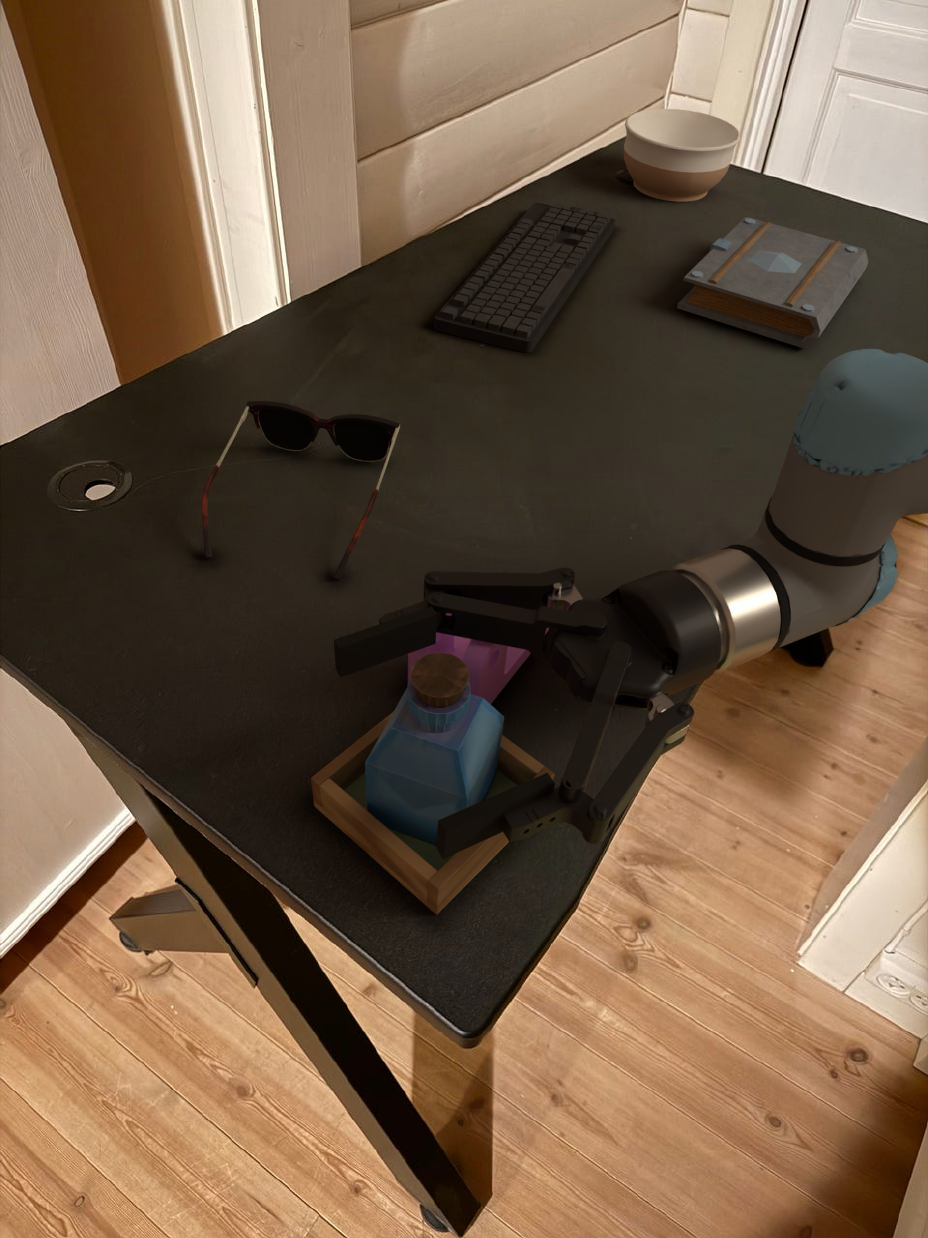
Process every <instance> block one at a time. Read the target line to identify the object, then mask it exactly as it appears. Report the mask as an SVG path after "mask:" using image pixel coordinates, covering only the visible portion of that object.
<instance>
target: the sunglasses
mask: <svg viewBox="0 0 928 1238" xmlns="http://www.w3.org/2000/svg"><path fill="white" fill-rule="evenodd" d="M245 405H246V406H245V408H244V410H243V412H242V414H241V416H240V417H239V418H240V419H239V421H238V423H237V425H236V427H235V428H234V431H233V432H232V435H231V436H230V437H229V438H230V439H229V440H228V442H227V444H226V446H225V447H224V450H223V451H222V454H221V455H220V457H219V458H218V460H217V463H216V464H215V466H214V467H213V469H212V471H211V473H210V475H209V477H208V479H207V481H206V483H205V485H204V488H203V492H202V497H201V522H202V523H201V524H202V537H203V539H202V540H203V553H204V558H205V559H210V558H212V557H213V554H212V548H211V542H210V534H209V533H210V531H209V517H208V500H209V496H210V495H209V494H210V490H211V489H212V485H213V483H214V482H215V480H216V478H217V475H218V474H219V471H220V466H221V465H222V463H223V461H224V458H225V456H226V454H227V453H228V451H229V449H230V447H231V445H232V443H233V441H234V439H235V437H236V436H237V433H238V431H239V429H240V427H241V426H242V424H243V423H245V420H246V418H247V417H248V415H249V413H250V414H251V415H252V417H253V421H254V424H255V427H256V429H258V430H261V432H262V435H263V436H264V438H265V440H266V441H267V442H268V443H269V444H270V445H272V446H273V447H277V448H279V449H282V450H285V451H291V452H303V451H305V450H307V449H308V448H309V447H310V445H311V444H312V443H314V442H315V440H316V438H317V436H318V434H319V431H320V429H324V430H326V432H327V433H328V435H329V437H330V439H331V441H332V442H333V444H334V446H336V447H339V449H340V451H342V453H343V454H344V455H346V457H348V458H350V459H352V460H354V461H359V462H365V463H373V462H381V461H383V460H384V459H385V462H384V464H383V467H382V470H381V471H380V472H381V473H380V476H379V478H378V481H377V483H376V487H375V489H373V490H372V493H371V495H370V499H369V502H368V505H367V507H366V510H365V511H364V514H363V515H362V517H361V520H360V521H359V524H358V525H357V527H356V530H355V532H354V534H353V537H352V538H351V540H350V542H349V544H348V546H347V548H346V550H345V552H344V554H343V556H342V558H341V560H340V562H339V564H338V566H337V568H336V571H335V572H334V574H333V577H334V578H335V579H337V580H341V578H342V576H343V573H344V571H345V568H346V565H347V563H348V561H349V558H350V556H351V555H352V553H353V551H354V548H355V547H356V544H357V542H358V541H359V538H360V536H361V534H362V532H363V530H364V527H365V525H366V523H367V522H368V520H369V518H370V515H371V513H372V511H373V509H374V506H375V504H376V500H377V497H378V494H379V490H380V487H381V484H382V481H383V479H384V474H385V472H386V469H387V466H388V463H389V461H390V458H391V455H392V452H393V449H394V447H395V443H396V441H397V437H398V434H399V433H400V430H401V429H400V428H401V423H400V422H398V421H394V420H390V419H387V418H384V417H380V416H375V415H369V414H361V413H348V414H347V413H346V414H338V415H334V416H332V417H330V418H321V417H319V416H317V415H316V414H315V413H314V412H312V411H309V410H307V409H304V408H302V407H299V406H297V405H293V404H290V403H284V402H280V401H268V400H250V401H249V400H248V401H247V403H245Z"/></svg>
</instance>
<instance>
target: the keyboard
mask: <svg viewBox="0 0 928 1238" xmlns="http://www.w3.org/2000/svg"><path fill="white" fill-rule="evenodd" d="M615 223H616V220H615V219H614V218H612V217H611V214H609V213H604V212H600V211H595V210H588V209H585V208H581V207H576V206H571V205H564V204H562V203H558V202H557V203H556V202H554V203H553V204H552V205H549V204H547V203H540V202H534V203H533V204H532V205H530V207H529V208H528V209H527V210H526V211H525V213H524V214H523V215H522V216H521V217H520V218H519V220H517V222H516V223H515V224H514V225H513V226H512V227H511V228H510V230H509V231H508V232H507V233H506V234H505V235H504V237H503V238H502V239H501V240H500V241H499V242H498V243H497V244H496V246H495V247H494V248H493V249H492V250H491V251H490V252H489V253H488V255H487V256H486V257H485V258H484V259H483V260H482V261H481V262H480V264H479V265H478V266H477V267H476V268H475V270H474V271H473V272H472V273H471V274H470V276H468V277H467V279H465V281H464V282H463V283H462V284H461V285H460V287H458V289H457V290H456V292H454V294H453V295H452V296H451V297H450V298H449V299H448V301H447V302H446V303H445V304H444V305H443V306H442V307H441V308H440V309H439V310H438V312H437V313H436V314H435V315H434V331H437V332H441V333H444V334H448V335H452V336H457V337H461V338H464V339H469V340H472V341H476V342H481V343H485V344H488V345H493V346H495V347H500V348H505V349H509V350H513V351H515V352H516V351H517V352H520V353H525V354H530V353H532V352H533V351H534V349H535V348H536V346H537V345H538V343H539V342H540V340H541V339H542V338H543V335H544V334H545V333H546V331H547V330H548V328H549V327H550V325H552V323H553V321H554V319H555V318H556V317H557V316H558V314H559V312H560V311H561V309H562V308H563V306H564V305H565V303H566V302H567V300H569V298H570V296H571V294H572V293H573V292H574V290H575V289H576V287H577V286H578V284H579V282H580V281H581V280H582V278H583V276H584V275H585V273H586V272H587V271H588V269H589V268H590V266H591V265H592V263H593V262H594V261H595V259H596V258H597V256H598V254H599V253H600V252H601V250H602V249H603V247H604V246H605V245H606V242H607V241H608V239H609V238H610V237H611V236H612V233H613V232H614V228H615Z"/></svg>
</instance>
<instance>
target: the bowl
mask: <svg viewBox="0 0 928 1238" xmlns="http://www.w3.org/2000/svg"><path fill="white" fill-rule="evenodd" d="M624 126H625V132H626V133H625V134H626V135H625V140H624V143H623V160H624V163H625V167H626V170H627V172H628V173H629V175H630V177H631V178H632V180H633V186H634V188H635V189H636V190H637V191H639V192H640V193H642V194H643V195H646V196H648V197H651V198H653V199H657V200H662V201H667V202H668V201H669V202H676V203H677V202H679V203H682V202H694V201H699V200H701V199H703V198H705V197H706V196H707V194H708V193H709V191H710V190H711V189H712V188H714V187H715V186H716V185H718V184H719V183H720V182H721V180H723V178H724V177H725V176H726V174H727V173H728V171H729V168H730V165H731V163H732V161H733V158H734V153H735V148H736V146H737V145H738V144H739V142H740V140H741V133H740V131H739V129H738V128H737V127H736V126H735V125H733V124H732V123H730V122H729V121H727V120H725V119H722V118H720V117H717V116H715V115H712V114H707V113H704V112H699V111H693V110H689V109H680V108H654V109H652V108H651V109H645V110H640V111H637V112H635V113H632V114H630V115H629V116H628V117H627V118H626V120H625V122H624Z"/></svg>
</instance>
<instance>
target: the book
mask: <svg viewBox="0 0 928 1238" xmlns="http://www.w3.org/2000/svg"><path fill="white" fill-rule="evenodd" d="M868 265H869V258H868V255H867V250H866V249H865V248H862V247H859V246H854V245H851V244H848V243H844V242H841V241H840V240H833V239H829V238H826V237H822V236H818V235H814V234H812V233H807V232H804V231H801V230H796V229H794V228H793V229H792V228H789V227H786V226H783V225H778V224H774V223H772V222H770V221H763V220H760V219H756V218H752V217H750V216H745V217H743V219H741V220H740V222H738V224H736V225H735V226H734V227H733V228H732V230H730V231H729V232H728V234H726V235H725V236H724V237H723V238H721V237H718V238H716V240H714V242H713V243H712V244H711V245H710V246H709V250H708V253H707V254H706V255H705V256H704V257H703V258H702V259H701V260H700V261H699V262H697V264H696V265H695V266H694V267H693V268H692V269H691V270H690V271H689V272H687V274H686V275H685V276H684V278H683V282H687V283H690V284H693V287H692V288H691V290H689V291H688V292H687V293H686V295H684V296H683V297H682V299H681V300H680V301H678V303H677V306H676V307H677V308H676V309H678V310H682V311H685V312H687V313H691V314H694V315H696V316H700V317H703V318H707V319H710V320H713V321H717V322H719V323H723V324H726V325H729V326H731V327H735V328H739V329H742V330H744V331H746V332H747V331H748V332H751V333H754V334H757V335H760V336H764V337H766V338H770V339H773V340H776V341H779V342H782V343H785V344H788V345H792V346H795V347H798V348H802V349H804V350H806V349H807V348H808V347H810V346H811V345H812V344H813V343H814V342H816V341H817V340H818V339H819V338H820V336H821V335H822V334H823V332H824V330H825V329H826V328H827V326H828V324H829V323H830V322H831V320H832V319H833V317H834V316H835V314H836V313H837V311H838V310H839V309H840V307H841V306H842V304H843V303H844V301H845V300H846V298H847V297H848V295H849V294H850V293H851V291H852V290H853V289H854V287H855V285H856V284H857V282H858V281H859V280H860V278H861V277H862V275H863V274H864V272H865V271H866V270H867V267H868Z"/></svg>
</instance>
